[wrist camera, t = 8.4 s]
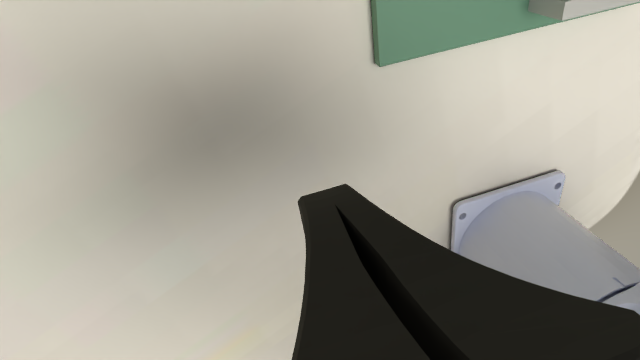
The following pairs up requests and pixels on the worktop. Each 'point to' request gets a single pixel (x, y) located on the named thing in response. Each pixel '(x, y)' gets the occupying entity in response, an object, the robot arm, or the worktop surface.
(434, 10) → the header board
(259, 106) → the worktop surface
